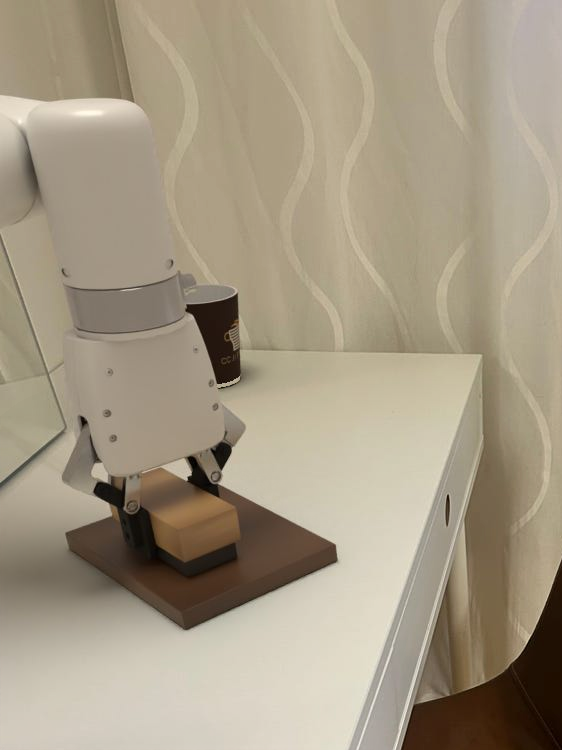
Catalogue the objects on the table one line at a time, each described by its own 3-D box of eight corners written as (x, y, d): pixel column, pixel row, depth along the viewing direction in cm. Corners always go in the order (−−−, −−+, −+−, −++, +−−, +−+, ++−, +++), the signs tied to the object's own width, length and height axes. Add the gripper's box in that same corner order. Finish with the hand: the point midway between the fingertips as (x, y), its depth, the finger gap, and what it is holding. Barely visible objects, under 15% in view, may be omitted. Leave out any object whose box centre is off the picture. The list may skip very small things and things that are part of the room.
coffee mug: (216, 364, 120) (202, 280, 114) (265, 377, 116) (253, 290, 110) (139, 391, 112) (120, 302, 106) (189, 406, 108) (172, 314, 102)
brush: (116, 535, 79) (104, 485, 76) (171, 515, 82) (160, 466, 79) (188, 582, 72) (177, 529, 70) (245, 558, 75) (236, 506, 73)
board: (68, 548, 80) (64, 532, 79) (214, 494, 89) (211, 479, 88) (185, 630, 70) (181, 612, 69) (338, 560, 78) (336, 544, 77)
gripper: (205, 273, 74) (241, 491, 84) (-20, 320, 64) (53, 562, 74) (262, 289, 69) (293, 518, 80) (30, 343, 59) (100, 597, 70)
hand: (177, 537), depth 77 cm, fingers closed on brush, 5 cm apart
